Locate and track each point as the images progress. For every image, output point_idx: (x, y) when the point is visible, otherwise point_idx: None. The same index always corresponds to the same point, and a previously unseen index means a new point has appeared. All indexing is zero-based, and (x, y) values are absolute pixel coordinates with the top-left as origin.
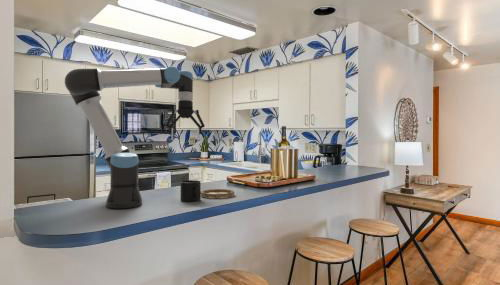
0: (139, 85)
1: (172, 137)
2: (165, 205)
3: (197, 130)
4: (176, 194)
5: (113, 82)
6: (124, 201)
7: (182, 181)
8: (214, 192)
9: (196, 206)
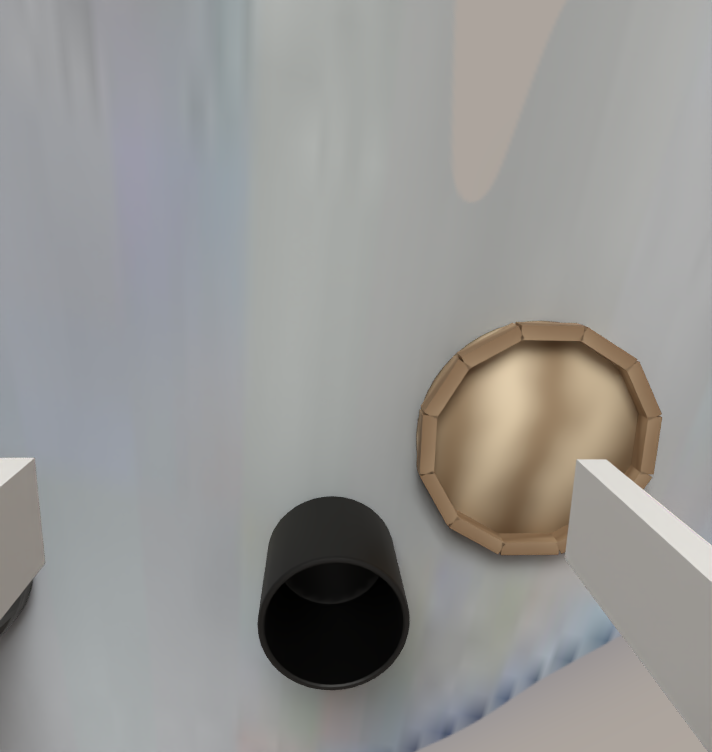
0: None
1: (3, 601)
2: (179, 663)
3: (705, 631)
4: (249, 300)
5: None
6: None
7: (273, 594)
8: (533, 359)
9: (343, 719)
